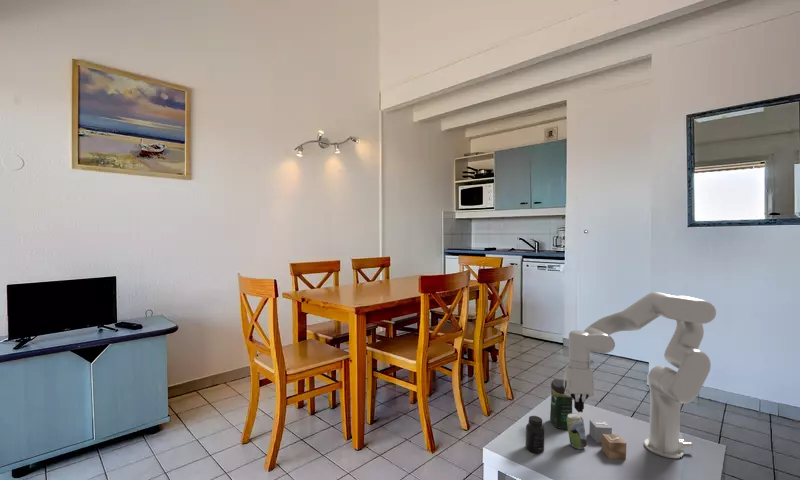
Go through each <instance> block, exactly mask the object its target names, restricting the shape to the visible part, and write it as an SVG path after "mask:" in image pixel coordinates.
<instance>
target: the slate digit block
mask: <svg viewBox="0 0 800 480" xmlns="http://www.w3.org/2000/svg"><path fill="white" fill-rule="evenodd" d="M588 433H589V436H590V437H591V438H592V439H593V440H594V442H595V443H602V434H613V428H612V426H611V425H609V423H608V422H607V421H606V420H599V419H589V432H588Z"/></svg>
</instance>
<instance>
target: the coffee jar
mask: <svg viewBox="0 0 800 480" xmlns="http://www.w3.org/2000/svg"><path fill="white" fill-rule="evenodd" d="M550 392H551V393H550V395H551V396H550V397H551V399H550V413H549V414H550V415H549V420H550V421H551V423H552V424H553V426H554V427H556V428H558V429H562V430H568V426H567V420H566V419H567V417H568V416H567V415H568V414H571V413H573V400H574V399H573V398H572V397H570V396H566V395H565V394H564V392H565V388H564V379H559V378H557V379H556V378H554V379H553V380H552V381H551V385H550Z"/></svg>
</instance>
